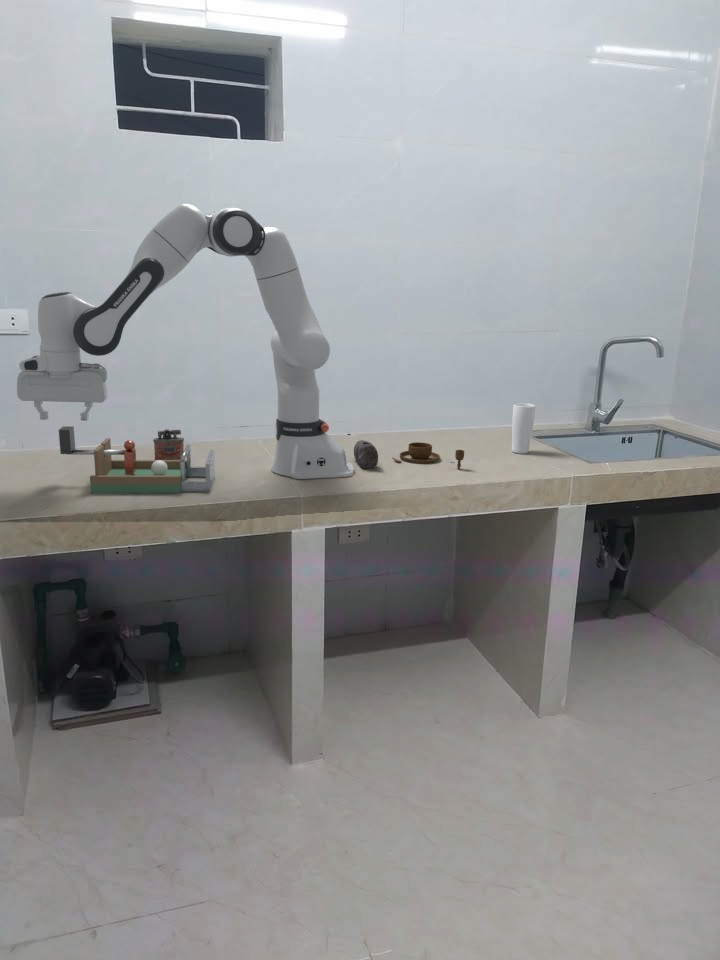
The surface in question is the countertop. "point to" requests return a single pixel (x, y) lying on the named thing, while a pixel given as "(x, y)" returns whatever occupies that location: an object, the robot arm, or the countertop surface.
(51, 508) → the countertop surface
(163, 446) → the lighter
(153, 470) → the ball
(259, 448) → the countertop surface
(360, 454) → the perforated stone tool
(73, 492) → the countertop surface
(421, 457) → the place setting
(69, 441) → the rod
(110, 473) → the pitch
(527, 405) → the drinking glass
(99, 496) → the countertop surface
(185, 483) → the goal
